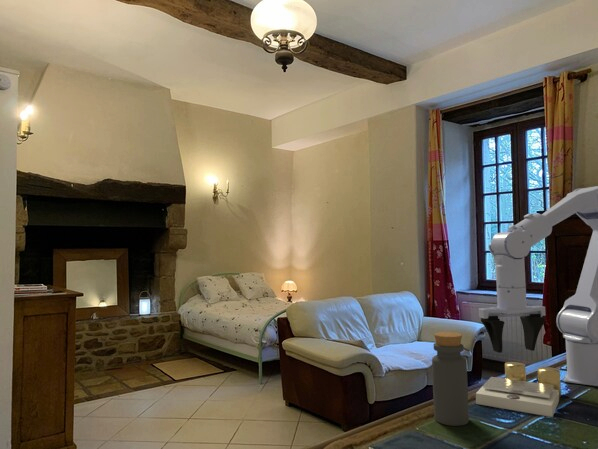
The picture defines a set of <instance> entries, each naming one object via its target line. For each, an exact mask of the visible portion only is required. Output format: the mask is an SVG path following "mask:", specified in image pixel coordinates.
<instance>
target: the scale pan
mask: <svg viewBox="0 0 598 449" xmlns="http://www.w3.org/2000/svg"><path fill="white" fill-rule="evenodd" d="M482 386H483V388H485V389H492V390H498V391H505V392H512V393H518V394H525V395H531V396H538V397H544V398H550V396H551V394H552V392H553V390H554V385H548V384H541V383H538V382H533V381H527V380H526V381H519V380H512V379H505V378H503V377H495V376H490V377H489V379H488V380H487V381H485V383H484V384H483V385H482Z"/></svg>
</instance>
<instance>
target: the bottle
mask: <svg viewBox="0 0 598 449" xmlns="http://www.w3.org/2000/svg"><path fill="white" fill-rule="evenodd" d="M433 334H434V339H435V342H434V343H433V350H434V351H436V355H434V356H433V357H432V359H431V365H432V366H431V367H432V368H431V370H432V372H431V373H432V393H433V412H434V414H433V415H434V418H433V419H434V420H435V421H436V422H438V423H439V424H442V425H445V426H453V427H457V426H458V427H459V426H465V425H467V424H468V423H469V419H470V418H469V417H470V413H469V412H470V411H469V391H468V368H467V365H468V364H467V360H466V359H465V358H464V357H463V356H462V354H461V353H462V352H464V344H462V343H461V342H462V339H463V338H462V337H463V335H462V334H461V333H459V332H455V331H454V332H452V331H441V332H439V331H438V332H434V333H433Z"/></svg>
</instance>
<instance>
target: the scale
mask: <svg viewBox="0 0 598 449" xmlns="http://www.w3.org/2000/svg"><path fill="white" fill-rule="evenodd" d="M559 402H560V397H559V390H553V392H552V394H551V396H550V398H544V397H538V396H531V395H525V394H518V393H512V392H505V391H498V390H492V389H485V388H483V385H482V386H481V387H480V389H478V391H476V393H475V404H476V405H480V406H481V405H482V406H488V407H493V408H497V409H505V410H508V411H509V410H510V411H515V412H521V413H527V414H532V415H539V416H545V417H549V418H553V417H554V414H555V413H556V412H555V411H556V409H557V407H558V404H559Z"/></svg>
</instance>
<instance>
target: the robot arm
mask: <svg viewBox="0 0 598 449" xmlns="http://www.w3.org/2000/svg"><path fill="white" fill-rule="evenodd" d="M572 215H577V216H578V217H579V218H580V219H581V220H582V221H583V222H584V223H585V224H586V225H587V226H589V227H590V228H591V229H592V234H591V237H590V240H589V244H588V248H587V250H586V255H585V258H584V263H583V266H582V270H581V273H580V275H579V276H580V277H579V280H578V284H577V286H576V287H577V288H576V291H575V294H574V295H572V296H569V297H568V298H567V299H565V301H564V303H563V307H562V308H561V309H560V311H559V312H558V313H557V315H556V321H555V323H556V327H557V329H558V330H559V332H560V333H562V337H563V339H565V350H566V351H565V353H566V354H565V357H566V370H567V371H566V374H565V376H564V379H563V382H564V383H571V384H579V385H585V386H586V385H587V386H593V387H598V185H595V186H589V187H582V188H581V187H580V188H576V189H574V190H573V191H572V192H569V193H567V194H566V196H565V197H563V198H562V199H561V200H560V201H558V202H556V203H555V204H554V205H553V206H552V207H549V209H547V210H546V211H545V212H543V213H536V212H535V213H527V214H525V215H523V220H521V221H519V222H518V223H516V224H512V225H509V226H508V227H507V228H508V229H507V230H506V231H505V232H504V231H503V232H498V233H496V234H495V235H493V236H492V239H491V241H490V244H488V250H489V253H490V254H491V255H492V256H493V263H494V264H495V279H496V298H497V299H496V301H497V302H496V303H497V304H496V305H497V306H491V307H481V308H478V317H479V318H480V322H481V323H482V325H483V327H484V328H485V330H486V332H487V335H488V337H489V339H490V343H491V345H492V348H493V349H492V350H493V352H496V353H501V354H502V353H503V331H504V327H505V321H504V320H501V319H500V318H510V317H512V318H513V317H514V318H515V317H520V322H521V324H522V325H521V326H522V330H523V338H524V339H523V340H524V341H523V342H524V347H525V349H526V350H528V351H532V352H533V351H535V349H536V344H537V340H538V337H539V333H540V332H541V329H542V327H543V326H544V324H545V323H546V317H543V316H546V306H542V305H527V287H526V286H527V284H526V270H525V257H527V256H528V255H529V254H530V252H531V248H532V247H534V246H536V244H538V243H540V242H541V241H542V240H544V239H546V238H547V237H548V236H550V235H551V234H552V231H553V226H555V225H557V224H560V222H563V221H564V220H566V219H568V218H569V217H571V216H572Z"/></svg>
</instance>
